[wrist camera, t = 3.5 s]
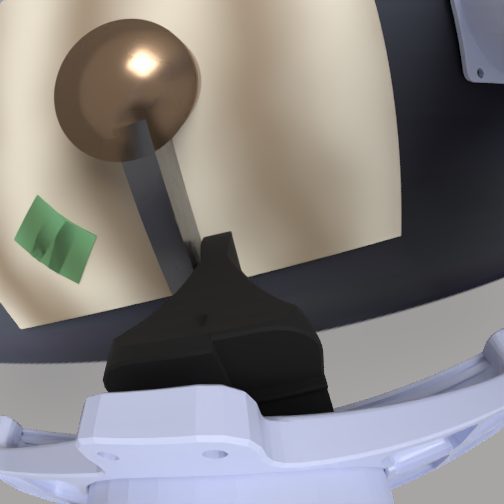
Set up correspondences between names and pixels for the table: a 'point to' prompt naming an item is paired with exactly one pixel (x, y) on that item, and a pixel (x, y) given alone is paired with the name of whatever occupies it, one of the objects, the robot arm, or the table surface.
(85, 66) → the bronze ball with handle
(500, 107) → the table surface
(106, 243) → the board
